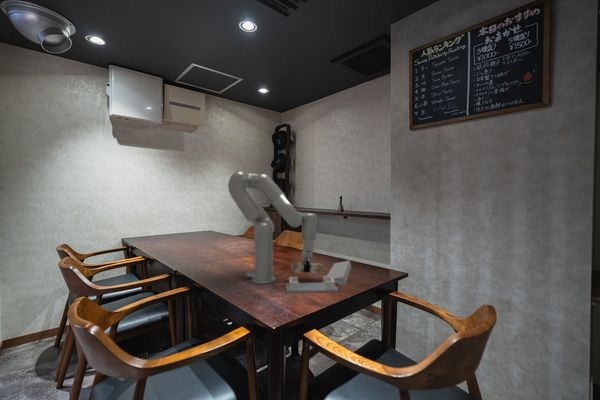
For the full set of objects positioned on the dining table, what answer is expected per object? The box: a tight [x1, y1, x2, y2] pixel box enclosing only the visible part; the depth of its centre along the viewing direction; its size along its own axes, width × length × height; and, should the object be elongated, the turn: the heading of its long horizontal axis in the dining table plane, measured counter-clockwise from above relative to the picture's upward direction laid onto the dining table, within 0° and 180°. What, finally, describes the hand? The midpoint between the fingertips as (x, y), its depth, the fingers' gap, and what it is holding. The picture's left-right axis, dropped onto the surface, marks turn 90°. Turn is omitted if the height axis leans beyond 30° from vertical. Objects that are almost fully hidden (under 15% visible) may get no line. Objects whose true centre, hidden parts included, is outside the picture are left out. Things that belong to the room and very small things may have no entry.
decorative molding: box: [326, 259, 352, 286], centre depth 149 cm, size 34×5×10 cm
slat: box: [291, 262, 323, 274], centre depth 138 cm, size 16×4×4 cm, turn 94°
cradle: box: [285, 275, 339, 294], centre depth 127 cm, size 24×10×4 cm, turn 94°
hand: (306, 270), depth 138 cm, fingers closed on slat, 4 cm apart
